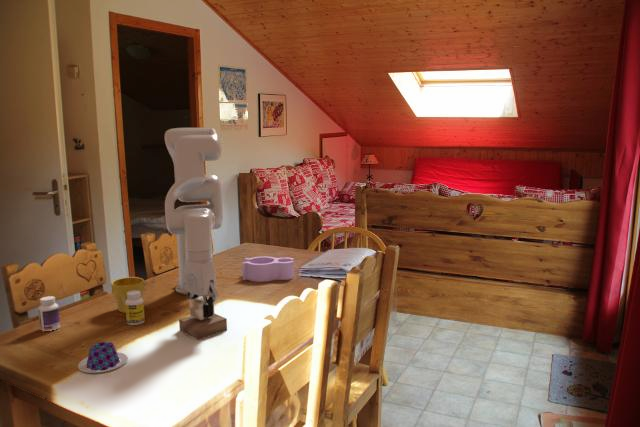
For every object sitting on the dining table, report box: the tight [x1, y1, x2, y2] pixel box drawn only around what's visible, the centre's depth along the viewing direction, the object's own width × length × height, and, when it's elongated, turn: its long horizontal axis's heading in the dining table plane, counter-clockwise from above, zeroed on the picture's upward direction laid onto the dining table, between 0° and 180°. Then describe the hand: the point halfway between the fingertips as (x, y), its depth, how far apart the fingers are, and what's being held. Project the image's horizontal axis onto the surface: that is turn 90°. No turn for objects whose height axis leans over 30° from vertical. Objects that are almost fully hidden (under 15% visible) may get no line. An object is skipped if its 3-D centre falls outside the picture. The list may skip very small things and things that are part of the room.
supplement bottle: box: [125, 290, 145, 326], centre depth 165 cm, size 5×5×10 cm
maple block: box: [189, 296, 215, 320], centre depth 157 cm, size 5×5×5 cm
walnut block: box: [178, 312, 228, 341], centre depth 158 cm, size 10×10×4 cm
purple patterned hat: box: [77, 341, 128, 374], centre depth 137 cm, size 12×12×5 cm
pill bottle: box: [37, 295, 61, 332], centre depth 160 cm, size 5×5×10 cm
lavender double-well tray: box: [241, 255, 295, 283], centre depth 211 cm, size 20×12×7 cm, turn 89°
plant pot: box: [110, 276, 145, 314], centre depth 176 cm, size 10×10×10 cm
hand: (202, 313), depth 158 cm, fingers closed on maple block, 5 cm apart
